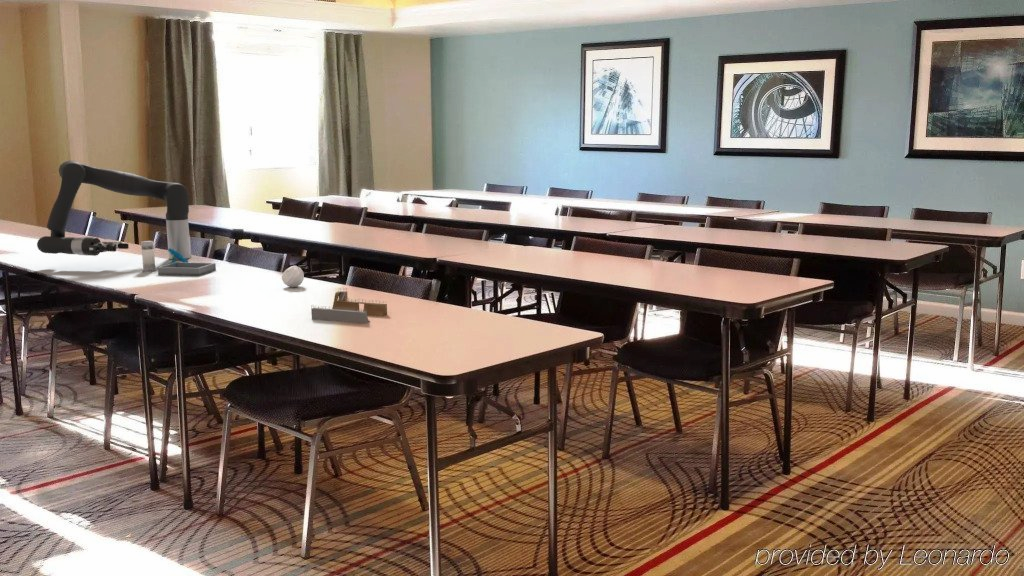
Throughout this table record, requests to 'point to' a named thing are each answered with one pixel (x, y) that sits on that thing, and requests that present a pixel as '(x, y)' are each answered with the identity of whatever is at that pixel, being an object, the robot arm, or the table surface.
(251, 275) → the table surface
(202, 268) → the parts tray
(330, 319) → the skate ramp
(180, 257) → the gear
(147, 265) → the fuse
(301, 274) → the white ball
